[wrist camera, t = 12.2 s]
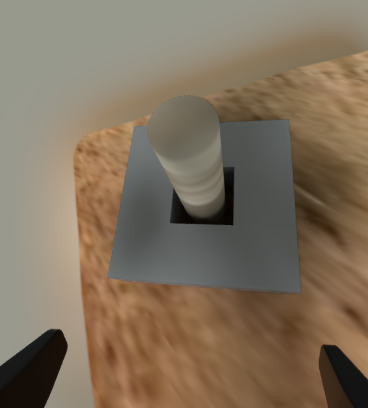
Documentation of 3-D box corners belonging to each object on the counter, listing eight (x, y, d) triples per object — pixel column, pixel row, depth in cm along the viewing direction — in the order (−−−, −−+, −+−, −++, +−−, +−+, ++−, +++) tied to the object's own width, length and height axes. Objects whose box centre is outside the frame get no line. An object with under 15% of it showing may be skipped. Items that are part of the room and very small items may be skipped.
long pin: (233, 217, 24) (232, 134, 12) (198, 235, 24) (163, 169, 12) (215, 187, 25) (198, 84, 13) (182, 204, 25) (136, 116, 13)
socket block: (289, 294, 21) (301, 292, 17) (127, 281, 24) (107, 277, 20) (281, 145, 25) (289, 119, 22) (147, 149, 28) (134, 126, 25)
